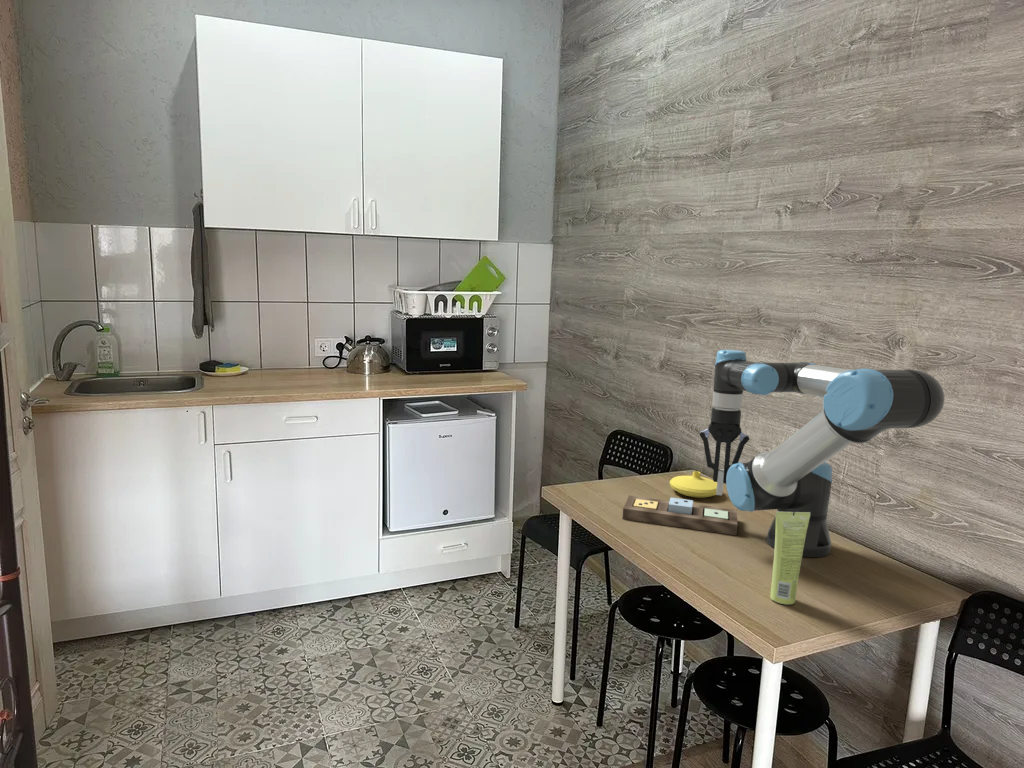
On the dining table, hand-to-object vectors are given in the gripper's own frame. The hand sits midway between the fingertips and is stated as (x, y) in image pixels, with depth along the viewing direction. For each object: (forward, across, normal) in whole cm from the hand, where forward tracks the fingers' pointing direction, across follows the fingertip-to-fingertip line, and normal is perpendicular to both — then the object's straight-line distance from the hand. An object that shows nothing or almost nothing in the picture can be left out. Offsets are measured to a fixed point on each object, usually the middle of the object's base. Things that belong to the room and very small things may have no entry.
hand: (719, 493), depth 186 cm
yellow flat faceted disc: (+9, +7, -26) cm, 29 cm away
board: (+9, +10, 0) cm, 13 cm away
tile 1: (+9, 0, 0) cm, 9 cm away
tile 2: (+7, +10, 0) cm, 12 cm away
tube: (+10, -14, +40) cm, 44 cm away
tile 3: (+9, +19, 0) cm, 21 cm away
